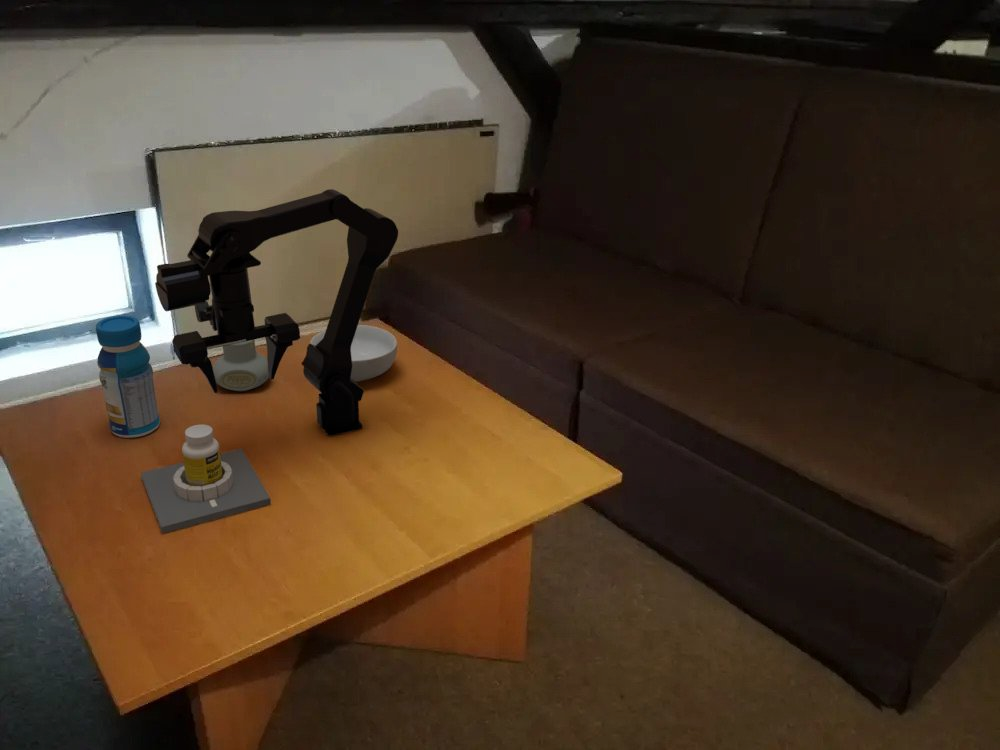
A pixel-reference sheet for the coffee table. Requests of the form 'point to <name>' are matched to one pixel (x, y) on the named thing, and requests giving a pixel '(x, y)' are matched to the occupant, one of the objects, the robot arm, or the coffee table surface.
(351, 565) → the coffee table surface
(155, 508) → the mount plate
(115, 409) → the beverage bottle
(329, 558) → the coffee table surface
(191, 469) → the supplement bottle
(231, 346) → the air freshener
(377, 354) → the cereal bowl
